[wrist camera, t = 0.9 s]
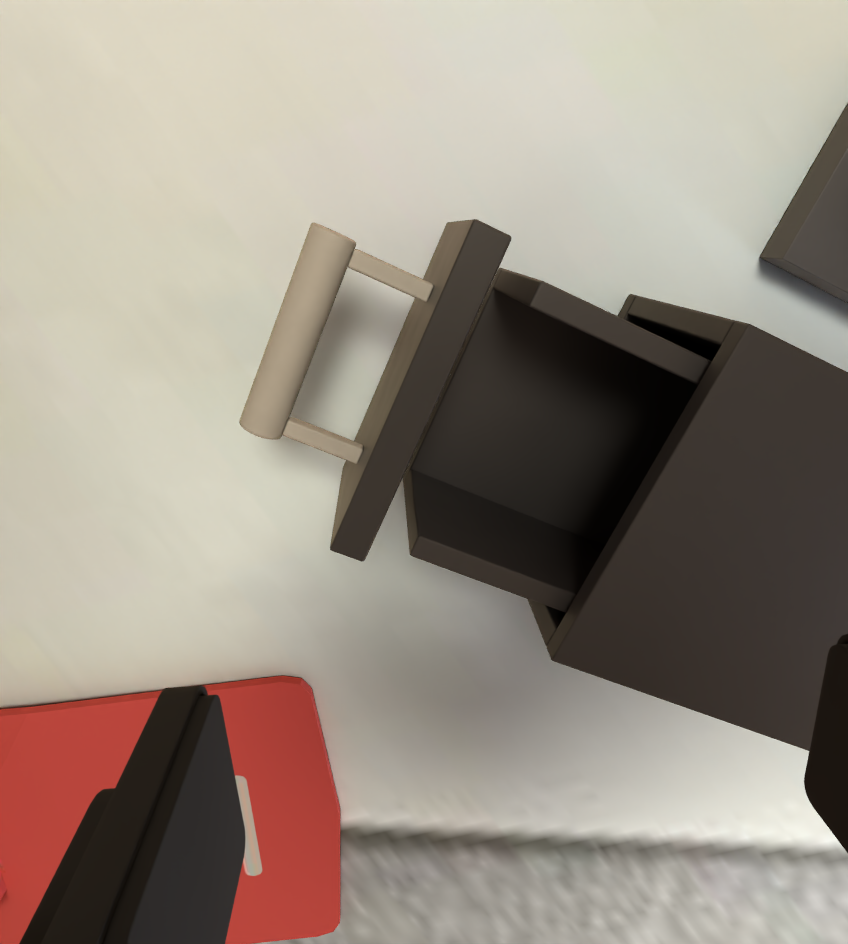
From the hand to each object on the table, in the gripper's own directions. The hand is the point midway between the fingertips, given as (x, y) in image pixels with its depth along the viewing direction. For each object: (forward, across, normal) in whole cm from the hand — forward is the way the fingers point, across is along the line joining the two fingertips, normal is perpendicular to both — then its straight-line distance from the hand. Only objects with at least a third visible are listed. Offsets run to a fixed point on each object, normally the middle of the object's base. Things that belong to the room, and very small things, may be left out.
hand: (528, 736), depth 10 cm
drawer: (+19, -3, -1) cm, 19 cm away
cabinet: (+20, -12, +4) cm, 24 cm away
